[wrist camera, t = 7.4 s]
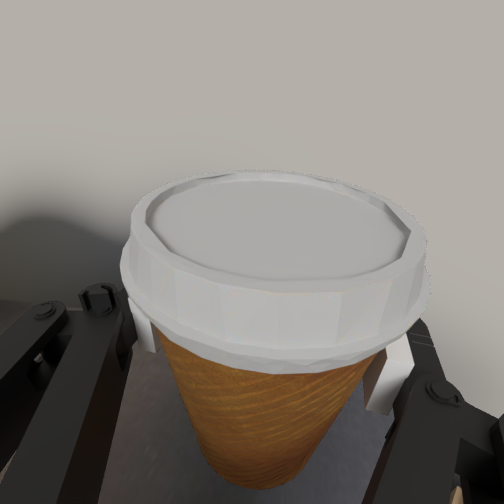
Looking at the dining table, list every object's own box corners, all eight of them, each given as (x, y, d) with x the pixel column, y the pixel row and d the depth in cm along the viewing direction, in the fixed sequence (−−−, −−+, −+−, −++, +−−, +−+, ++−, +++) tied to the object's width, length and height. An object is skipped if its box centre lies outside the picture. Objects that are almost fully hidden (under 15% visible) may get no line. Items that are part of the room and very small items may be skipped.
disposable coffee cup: (299, 617, 10) (431, 423, 3) (121, 442, 14) (36, 215, 8) (369, 396, 16) (455, 199, 10) (236, 325, 21) (240, 156, 15)
